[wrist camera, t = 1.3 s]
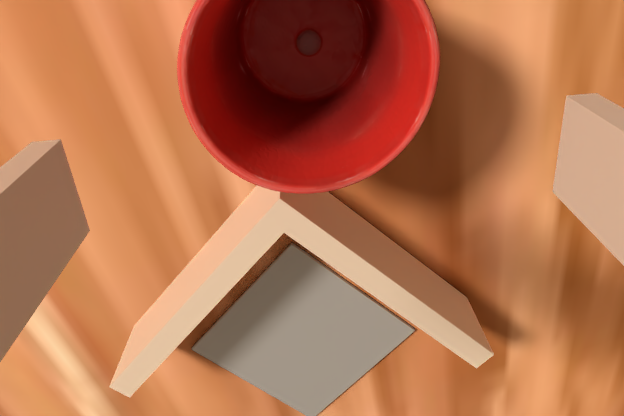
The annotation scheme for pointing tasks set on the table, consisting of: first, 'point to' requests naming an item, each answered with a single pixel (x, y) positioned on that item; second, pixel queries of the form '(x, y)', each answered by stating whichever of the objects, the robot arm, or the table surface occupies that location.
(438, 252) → the table surface
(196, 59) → the flower pot
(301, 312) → the pad
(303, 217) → the corner wall
